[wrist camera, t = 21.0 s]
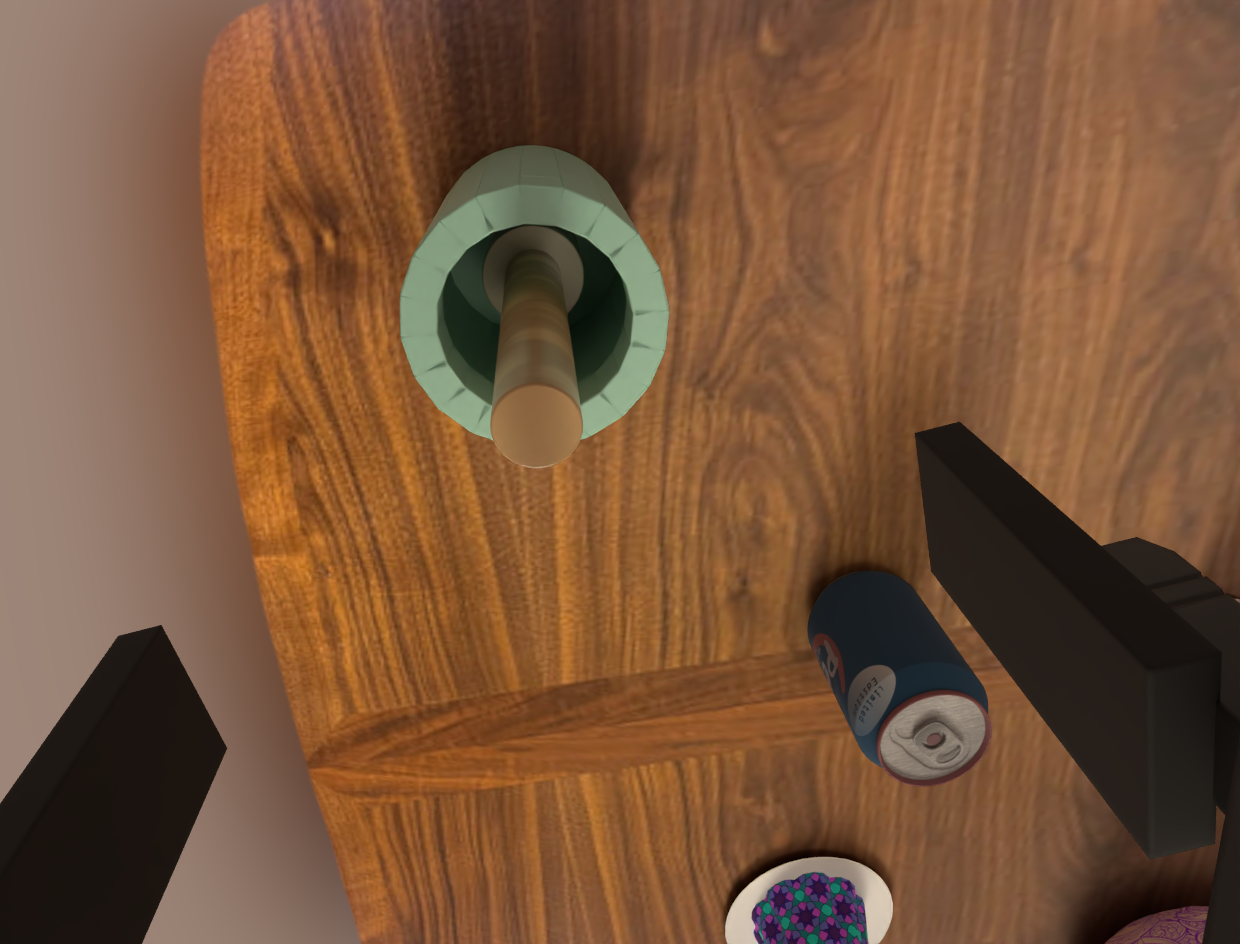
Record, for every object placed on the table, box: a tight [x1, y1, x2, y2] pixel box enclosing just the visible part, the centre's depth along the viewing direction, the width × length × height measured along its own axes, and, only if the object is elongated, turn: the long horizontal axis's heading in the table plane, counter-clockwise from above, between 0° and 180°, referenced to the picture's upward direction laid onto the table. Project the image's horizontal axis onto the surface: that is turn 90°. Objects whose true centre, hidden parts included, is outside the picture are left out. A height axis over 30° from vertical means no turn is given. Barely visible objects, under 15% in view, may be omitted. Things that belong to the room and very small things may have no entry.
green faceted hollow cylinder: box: [400, 145, 669, 440], centre depth 40 cm, size 9×9×15 cm
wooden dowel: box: [482, 224, 584, 469], centre depth 36 cm, size 4×4×24 cm
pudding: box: [725, 857, 893, 944], centre depth 65 cm, size 12×12×5 cm
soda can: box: [808, 571, 992, 787], centre depth 52 cm, size 7×7×12 cm
